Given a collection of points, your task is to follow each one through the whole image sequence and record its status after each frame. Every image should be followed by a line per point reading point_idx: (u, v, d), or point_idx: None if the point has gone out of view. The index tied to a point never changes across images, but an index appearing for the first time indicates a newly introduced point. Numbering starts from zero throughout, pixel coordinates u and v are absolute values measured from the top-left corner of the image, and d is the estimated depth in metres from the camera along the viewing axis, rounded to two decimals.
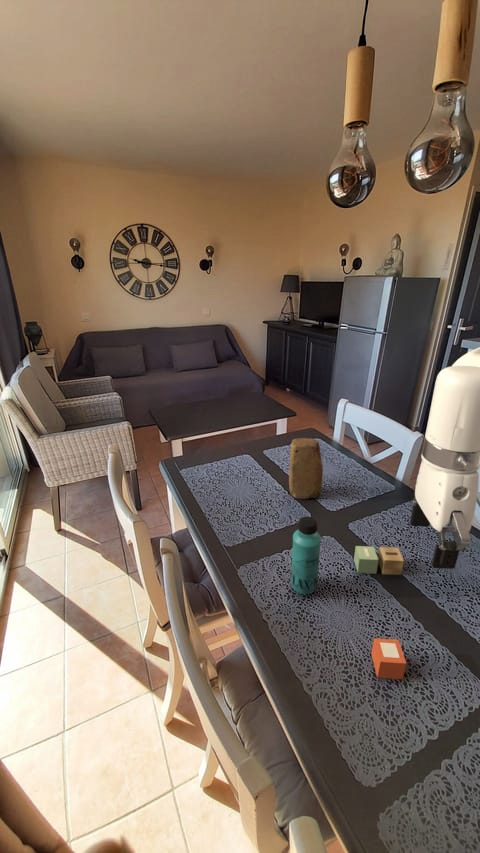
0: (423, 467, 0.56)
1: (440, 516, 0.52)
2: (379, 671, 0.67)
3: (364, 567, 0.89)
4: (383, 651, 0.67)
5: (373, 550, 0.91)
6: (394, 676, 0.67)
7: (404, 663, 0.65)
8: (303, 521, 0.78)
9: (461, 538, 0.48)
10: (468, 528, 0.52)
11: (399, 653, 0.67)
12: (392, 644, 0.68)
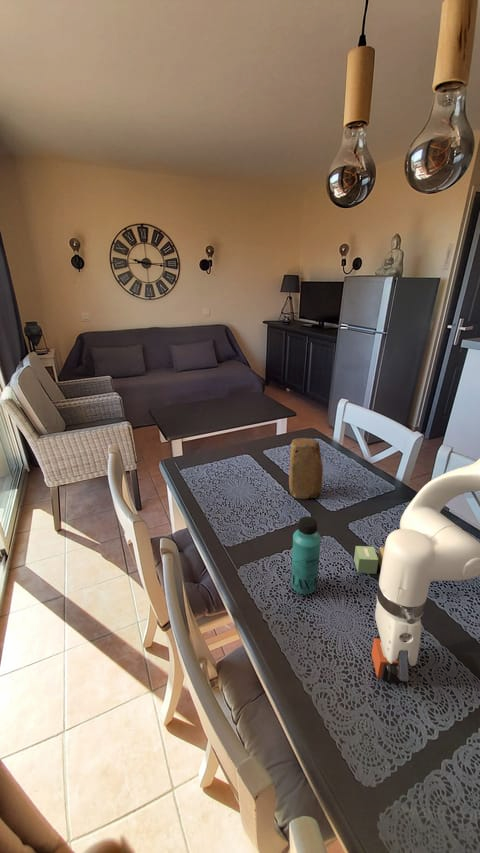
0: None
1: (390, 652, 0.61)
2: (379, 671, 0.67)
3: (364, 567, 0.89)
4: (383, 651, 0.67)
5: (373, 550, 0.91)
6: None
7: None
8: (303, 521, 0.78)
9: (401, 677, 0.60)
10: (414, 663, 0.61)
11: None
12: None
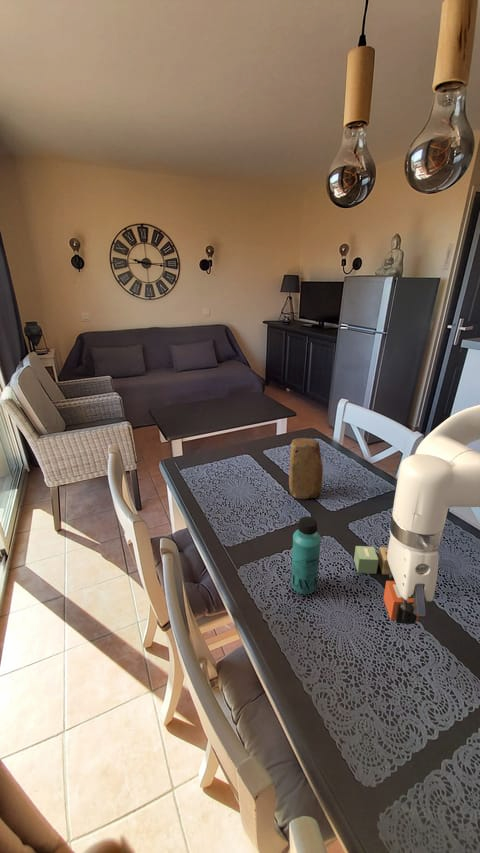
0: (392, 537, 0.62)
1: (405, 587, 0.57)
2: (393, 613, 0.63)
3: (364, 567, 0.89)
4: (396, 592, 0.64)
5: (373, 550, 0.91)
6: None
7: None
8: (303, 521, 0.78)
9: (417, 612, 0.56)
10: (431, 598, 0.57)
11: None
12: None
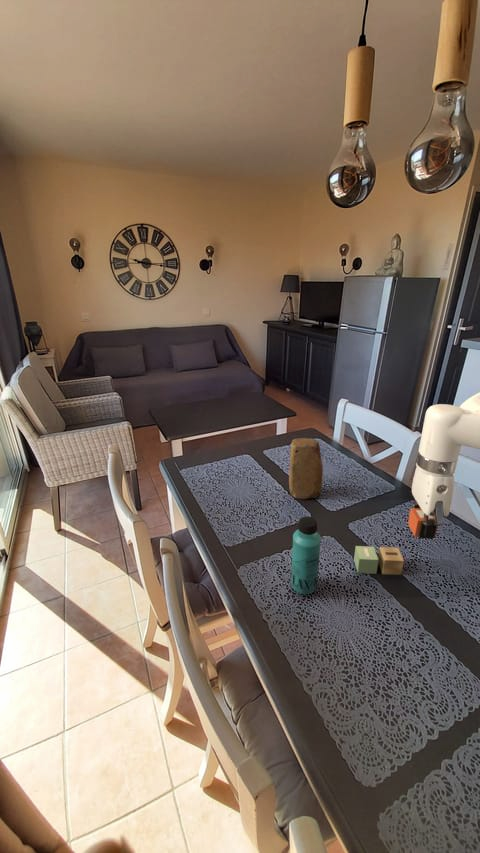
0: (417, 471, 0.81)
1: (428, 505, 0.76)
2: (416, 530, 0.82)
3: (364, 567, 0.89)
4: (419, 514, 0.83)
5: (373, 550, 0.91)
6: None
7: None
8: (303, 521, 0.78)
9: (437, 522, 0.75)
10: (447, 513, 0.76)
11: None
12: None
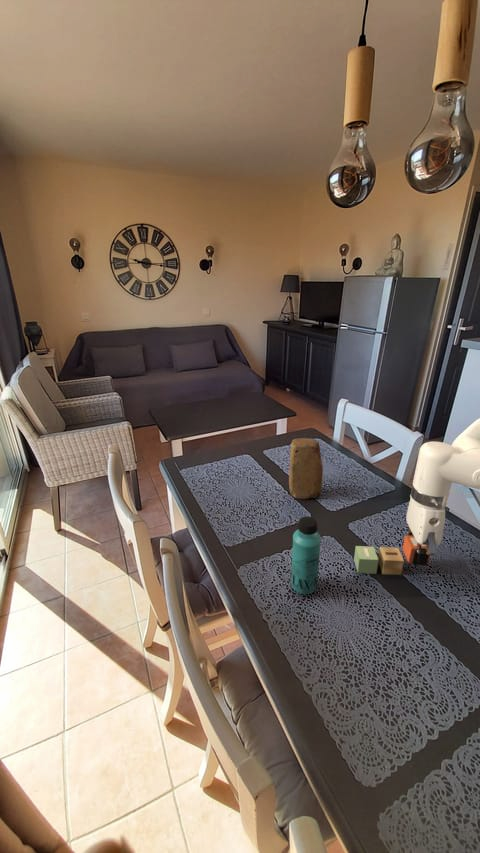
0: (411, 502, 0.86)
1: (421, 535, 0.81)
2: (410, 557, 0.87)
3: (364, 567, 0.89)
4: (413, 542, 0.88)
5: (373, 550, 0.91)
6: None
7: None
8: (303, 521, 0.78)
9: (429, 552, 0.80)
10: (439, 543, 0.81)
11: None
12: None
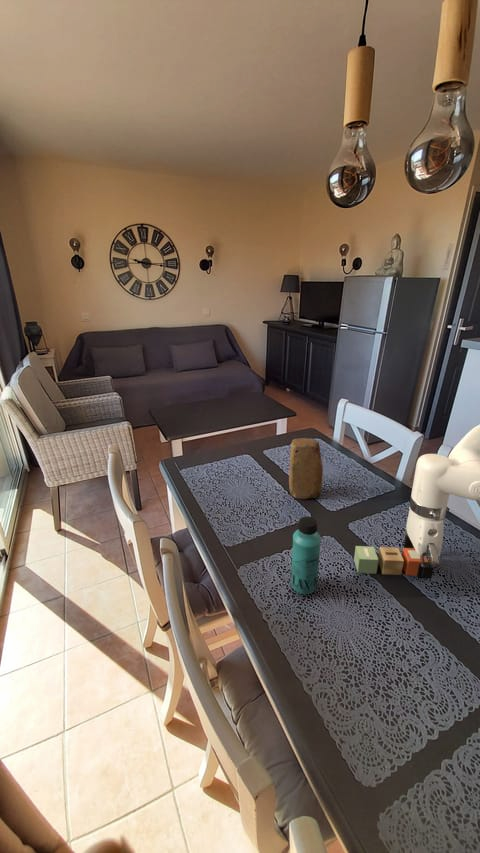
0: (410, 513, 0.87)
1: (421, 546, 0.82)
2: (407, 569, 0.89)
3: (364, 567, 0.89)
4: (410, 555, 0.89)
5: (373, 550, 0.91)
6: None
7: (427, 561, 0.87)
8: (303, 521, 0.78)
9: (433, 561, 0.79)
10: (438, 553, 0.82)
11: None
12: None
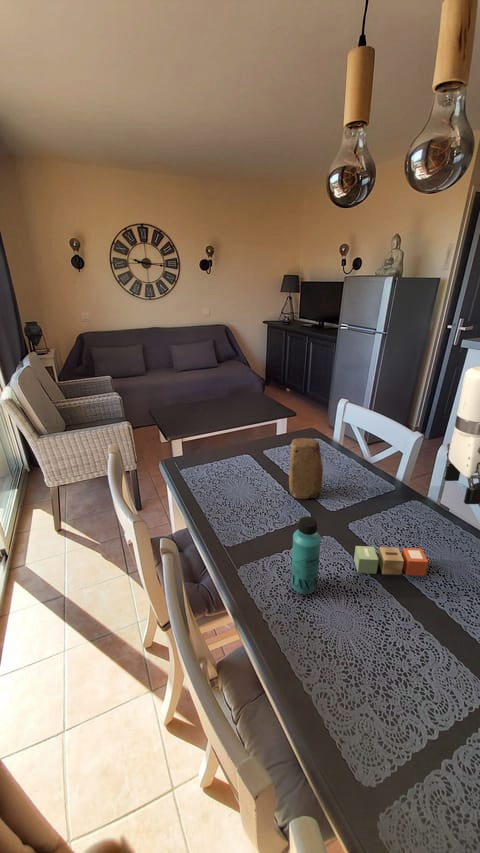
0: (455, 436, 0.82)
1: (469, 467, 0.77)
2: (407, 569, 0.89)
3: (364, 567, 0.89)
4: (410, 555, 0.89)
5: (373, 550, 0.91)
6: (418, 574, 0.89)
7: (427, 561, 0.87)
8: (303, 521, 0.78)
9: None
10: None
11: (422, 556, 0.89)
12: (416, 551, 0.90)
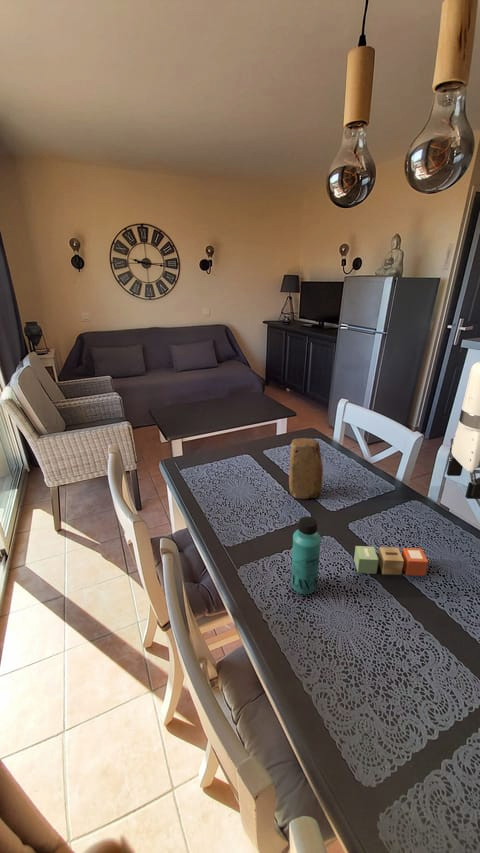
0: (459, 431, 0.82)
1: (472, 461, 0.77)
2: (407, 569, 0.89)
3: (364, 567, 0.89)
4: (410, 555, 0.89)
5: (373, 550, 0.91)
6: (418, 574, 0.89)
7: (427, 561, 0.87)
8: (303, 521, 0.78)
9: None
10: None
11: (422, 556, 0.89)
12: (416, 551, 0.90)
